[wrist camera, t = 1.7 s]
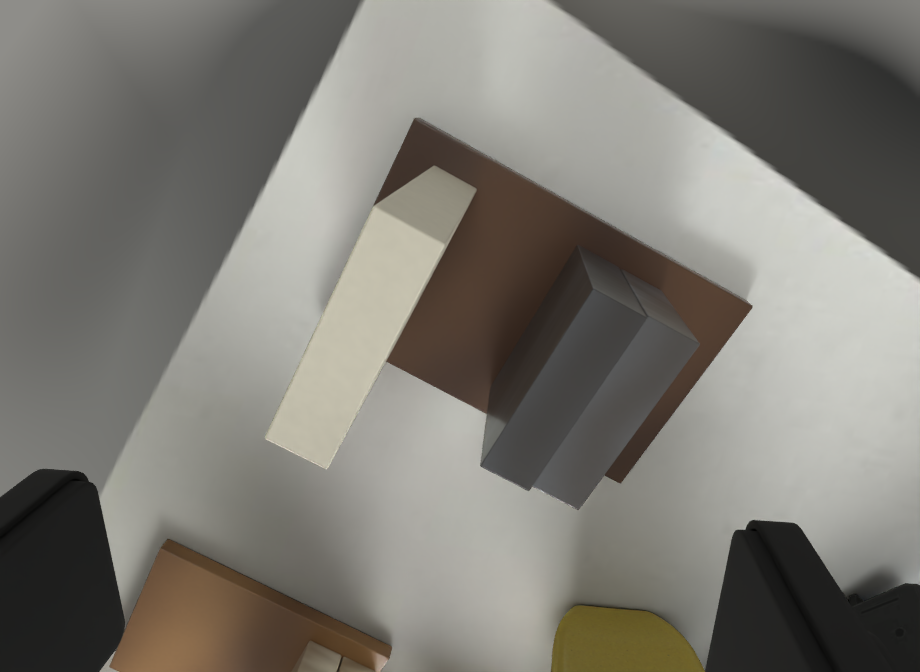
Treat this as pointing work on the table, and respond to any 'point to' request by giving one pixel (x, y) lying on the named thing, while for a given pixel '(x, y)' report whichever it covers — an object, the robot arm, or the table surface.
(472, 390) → the grey board
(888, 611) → the magazine
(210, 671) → the cream board
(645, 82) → the table surface
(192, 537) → the table surface
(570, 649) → the flower pot
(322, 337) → the cream book
